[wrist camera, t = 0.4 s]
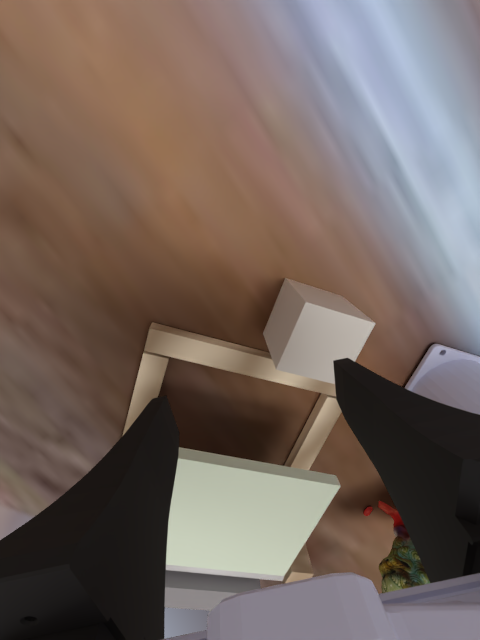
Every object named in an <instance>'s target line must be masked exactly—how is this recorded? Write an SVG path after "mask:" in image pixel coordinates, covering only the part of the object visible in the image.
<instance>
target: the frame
mask: <svg viewBox="0 0 480 640" xmlns="http://www.w3.org/2000/svg"><path fill="white" fill-rule="evenodd" d="M169 357H173V358H177V359H181V360H185V361H189V362H194V363H198V364H202V365H206V366H210V367H214V368H219V369H223V370H227V371H231V372H235V373H239V374H244V375H248V376H252V377H256V378H260V379H264V380H269V381H273V382H277V383H281V384H285V385H289V386H294V387H298V388H302V389H306V390H310V391H314V392H319V393H321V395H320V397H319V399H318V401H317V403H316V405H315V407H314V408H313V410H312V412H311V414H310V416H309V418H308V420H307V422H306V424H305V426H304V428H303V430H302V432H301V434H300V436H299V437H298V439H297V441H296V443H295V445H294V447H293V449H292V451H291V453H290V455H289V457H288V459H287V461H286V463H285V465H284V466H287V467H292V468H298V469H303V470H309V469H310V467H311V465H312V464H313V462H314V460H315V458H316V456H317V455H318V453H319V451H320V449H321V448H322V446H323V444H324V442H325V440H326V439H327V437H328V435H329V433H330V431H331V430H332V428H333V426H334V424H335V423H336V421H337V419H338V417H339V415H340V414H341V412H342V411H341V409H340V407H339V404H338V402H337V400H336V389H335V384H332V383H328V382H324V381H320V380H316V379H312V378H308V377H304V376H300V375H296V374H292V373H288V372H284V371H280V370H276V368H275V365H274V363H273V360H272V357H271V354H270V353H269V352H265V351H261V350H257V349H253V348H249V347H246V346H242V345H238V344H234V343H230V342H226V341H222V340H219V339H215V338H211V337H207V336H203V335H199V334H196V333H192V332H188V331H184V330H180V329H176V328H173V327H169V326H165V325H161V324H157V323H153V322H152V324H151V326H150V328H149V332H148V336H147V340H146V344H145V348H144V353H143V356H142V360H141V364H140V368H139V372H138V376H137V380H136V384H135V388H134V392H133V396H132V400H131V404H130V408H129V412H128V416H127V420H126V424H125V428H124V432H123V435H124V434H125V433H126V431H127V430H128V429H129V428H130V426H131V425H132V424H133V423H134V421H135V420H136V419H137V417H138V416H139V415H140V414H141V412H142V411H143V410H144V408H145V407H146V406H147V404H148V403H149V402H150V401H151V400H152V399H153V398H158V395H159V391H160V388H161V384H162V381H163V377H164V374H165V371H166V367H167V364H168V360H169ZM313 574H314V573H313V570H312V566H311V562H310V559H309V555H308V551H307V547H306V544H304V545H303V547H302V549H301V550H300V552H299V553H298V555H297V556H296V558H295V560H294V561H293V563H292V564H291V566H290V568H289V569H288V571H287V572H286V574H285V576H284V579H283V581H282V583H283V584H285V583H289V582H294V581H299V580H304V579H308V578H311V577H312V576H313Z"/></svg>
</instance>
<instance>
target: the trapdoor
mask: <svg viewBox="0 0 480 640" xmlns="http://www.w3.org/2000/svg"><path fill="white" fill-rule="evenodd" d="M339 488H340V483H339V481H338V479H337V477H336V475H331V474H326V473H320V472H315V471H309V470H303V469H298V468H292V467H287V466H281V465H276V464H270V463H264V462H259V461H253V460H248V459H242V458H237V457H231V456H225V455H220V454H214V453H209V452H203V451H198V450H192V449H186V448H181V447H179V456H178V462H177V469H176V475H175V481H174V487H173V493H172V499H171V505H170V512H169V521H168V536H167V553H166V574H165V607H168V608H181V609H196V610H212V609H213V608H214V607H215V606H216V605H217V604H218V603H219V602H220V601H221V600H223V599H225V598H228V597H230V596H233V595H236V594H238V593H242V592H246V591H251V590H256V589H261V588H260V580H259V579H266V580H276V581H283V579H284V576H285V574H286V572H287V571H288V569H289V568H290V566H291V564H292V563H293V561H294V560H295V558H296V556H297V555H298V553H299V552H300V550H301V549H302V547H303V545H304V544H305V542H306V541H307V539H308V537H309V536H310V534H311V533H312V531H313V529H314V528H315V526H316V525H317V523H318V521H319V520H320V518H321V517H322V515H323V513H324V512H325V510H326V509H327V507H328V505H329V504H330V502H331V501H332V499H333V497H334V496H335V494H336V493H337V491H338V490H339Z"/></svg>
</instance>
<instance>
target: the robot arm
mask: <svg viewBox="0 0 480 640" xmlns="http://www.w3.org/2000/svg"><path fill="white" fill-rule="evenodd" d="M441 351H442V352H441ZM440 352H441V353H440ZM333 364H334V376H335V389H336V400H337V402H338V404H339V407H340V409H341V411H342V413H343V415H344V417H345V419H346V421H347V423H348V425H349V426H350V428H351V429H352V431H353V433H354V434H355V436H356V437H357V439H358V441H359V442H360V444H361V445H362V447H363V448H364V450H365V452H366V453H367V455H368V456H369V458H370V460H371V461H372V463H373V464H374V466H375V468H376V469H377V471H378V473H379V475H380V476H381V478H382V480H383V482H384V484H385V486H386V488H387V490H388V492H389V494H390V496H391V498H392V500H393V502H394V504H395V507H396V509H397V511H398V513H399V515H400V517H401V519H402V521H403V523H404V525H405V527H406V530H407V532H408V534H409V536H410V538H411V541H412V543H413V545H414V547H415V549H416V552H417V554H418V556H419V558H420V560H421V563H422V565H423V567H424V569H425V572H426V574H427V576H428V579H429V581H430V583H429V584H424V585H419V586H415V587H410V588H405V589H400V590H396V591H391V592H386V593H381V594H378V592H377V590H376V588H375V586H374V585H373V583H372V581H371V580H369V579H368V578H366V577H363V576H360V575H357V574H355V573H352V572H351V573H332V574H327V575H323V576H318V577H313V578H308V579H304V580H299V581H294V582H289V583H285V584H280V585H275V586H270V587H265V588H261V589H256V590H251V591H246V592H242V593H238V594H236V595H233V596H230V597H228V598H225V599H223V600H221V601H220V602H219V603H218V604H217V605H216V606H215V607H214V608H213V609H212V610H211V611H210V613H209V614H208V619H207V630H205V631H200V632H195V633H191V634H186V635H181V636H176V637H171V638H167V639H164V608H165V574H166V553H167V536H168V521H169V512H170V505H171V499H172V493H173V487H174V481H175V475H176V469H177V462H178V456H179V430H178V427H177V425H176V422H175V419H174V416H173V413H172V411H171V408H170V405H169V402H168V399H167V396H163V397H158V398H153V399H152V400H151V401H150V402H149V403H148V404H147V406H146V407H145V408H144V410H143V411H142V412H141V414H140V415H139V416H138V417H137V419H136V420H135V421H134V423H133V424H132V425H131V426H130V428H129V429H128V430H127V431H126V433H125V434H124V435H123V436H122V437H121V438H120V440H119V441H118V442H117V443H116V444H115V445H114V447H113V448H112V449H111V450H110V451H109V452H108V453H107V454H106V456H105V457H104V458H103V459H102V460H101V461H100V462H99V463H98V464H97V465H96V466H95V467H94V468H93V469H92V470H91V471H90V472H89V473H88V474H86V475H85V476H84V477H83V478H82V479H81V480H80V481H79V482H77V483H76V484H75V485H74V486H73V487H72V488H71V489H69V490H68V491H67V492H66V493H65V494H64V495H62V496H61V497H60V498H59V499H57V500H56V501H55V502H54V503H52V504H51V505H50V506H49V507H47V508H46V509H45V510H43V511H42V512H41V513H39V514H38V515H37V516H35V517H34V518H32V519H31V520H30V521H28V522H27V523H25V524H24V525H22V526H21V527H19V528H18V529H17V530H15V531H14V532H12V533H11V534H9V535H8V536H6V537H5V538H3V539H2V540H0V640H480V356H477V355H473V354H470V353H467V352H464V351H460V350H457V349H454V348H450V347H447V346H444V345H441V344H433V345H432V346H431V347H430V348H429V350H428V351H427V353H426V354H425V356H424V358H423V359H422V361H421V362H420V364H419V365H418V367H417V369H416V370H415V372H414V373H413V375H412V377H411V378H410V380H409V381H408V383H407V385H406V386H405V388H403V387H401V386H399V385H397V384H395V383H393V382H391V381H389V380H387V379H385V378H383V377H381V376H379V375H377V374H376V373H374V372H372V371H370V370H368V369H367V368H365V367H363V366H361V365H360V364H358V363H356V362H354V361H353V360H351V359H349V358H344V359H339V360H334V361H333Z"/></svg>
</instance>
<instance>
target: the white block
mask: <svg viewBox="0 0 480 640" xmlns="http://www.w3.org/2000/svg"><path fill="white" fill-rule="evenodd" d="M375 324H376V323H375V322H373V321H372V320H371V319H370V318H369V317H367V316H366V315H365V314H364V313H362V312H361V311H360V310H359V309H357V308H356V307H355V306H354V305H353V304H351V303H350V302H349V301H348V300H346V299H345V298H344V297H343V296H341V295H338V294H335V293H331V292H328V291H325V290H322V289H319V288H316V287H313V286H309V285H306V284H303V283H300V282H297V281H294V280H291V279H288V278H285V280H284V282H283V285H282V287H281V290H280V292H279V295H278V297H277V300H276V302H275V305H274V307H273V310H272V312H271V315H270V317H269V320H268V322H267V325H266V327H265V330H264V332H263V335H264V338H265V341H266V344H267V346H268V349H269V352H270V354H271V357H272V360H273V363H274V365H275V368H276V370H280V371H284V372H288V373H292V374H296V375H300V376H304V377H308V378H312V379H316V380H320V381H324V382H328V383H332V384H335V376H334V364H333V361H334V360H339V359H344V358H349V359H351V360H353V361H354V362H355V360H356V359H357V357H358V355H359V353H360V351H361V349H362V348H363V346H364V344H365V342H366V340H367V338H368V336H369V335H370V333H371V331H372V329H373V327H374V325H375Z"/></svg>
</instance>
